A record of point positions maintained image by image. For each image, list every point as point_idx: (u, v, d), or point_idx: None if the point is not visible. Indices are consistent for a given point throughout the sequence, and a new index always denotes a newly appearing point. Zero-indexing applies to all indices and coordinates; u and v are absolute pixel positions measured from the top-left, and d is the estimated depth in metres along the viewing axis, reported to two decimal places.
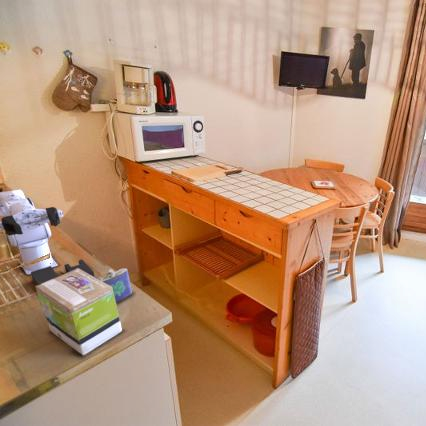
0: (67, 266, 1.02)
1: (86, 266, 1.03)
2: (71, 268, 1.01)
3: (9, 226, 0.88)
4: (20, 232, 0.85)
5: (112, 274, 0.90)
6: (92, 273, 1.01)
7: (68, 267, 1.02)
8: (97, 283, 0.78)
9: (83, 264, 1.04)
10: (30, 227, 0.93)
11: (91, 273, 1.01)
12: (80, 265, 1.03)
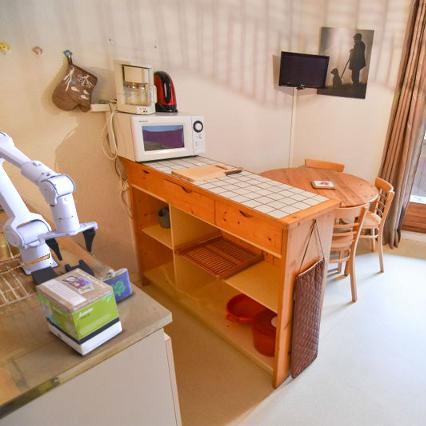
0: (67, 266, 1.02)
1: (86, 266, 1.03)
2: (71, 268, 1.01)
3: None
4: None
5: (112, 274, 0.90)
6: (92, 273, 1.01)
7: (68, 267, 1.02)
8: (97, 283, 0.78)
9: (83, 264, 1.04)
10: None
11: (91, 273, 1.01)
12: (80, 265, 1.03)
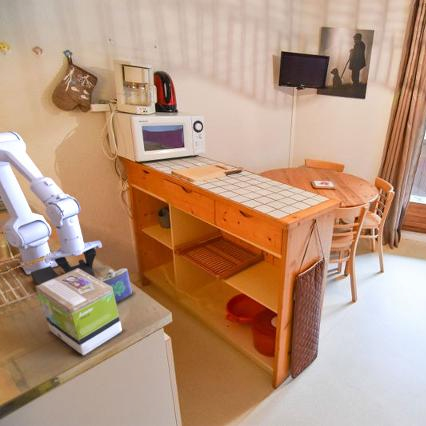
0: None
1: (86, 266, 1.03)
2: (71, 268, 1.01)
3: None
4: None
5: (112, 274, 0.90)
6: (92, 273, 1.01)
7: None
8: (97, 283, 0.78)
9: (83, 264, 1.04)
10: None
11: (91, 273, 1.01)
12: (80, 265, 1.03)
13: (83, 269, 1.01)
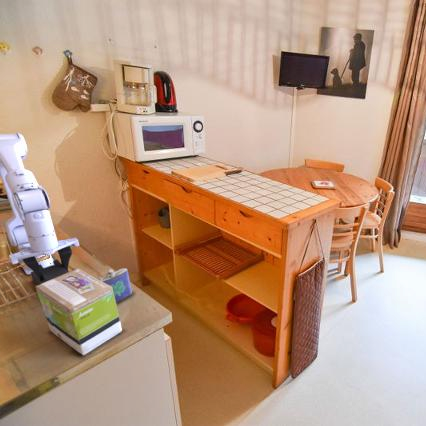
0: (39, 267, 0.90)
1: (61, 267, 0.91)
2: (43, 269, 0.89)
3: None
4: None
5: (112, 274, 0.90)
6: None
7: (40, 268, 0.89)
8: (97, 283, 0.78)
9: (58, 265, 0.91)
10: None
11: None
12: (54, 266, 0.91)
13: (57, 270, 0.89)
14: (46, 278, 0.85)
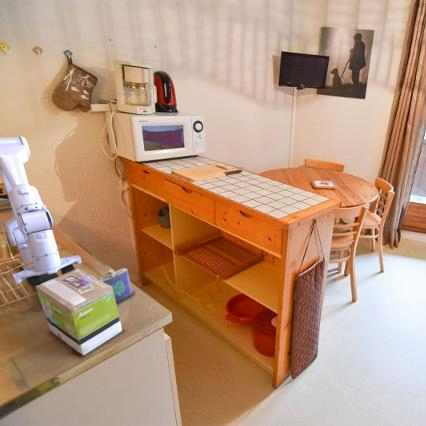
0: None
1: None
2: None
3: None
4: None
5: (112, 274, 0.90)
6: None
7: None
8: (97, 283, 0.78)
9: None
10: None
11: None
12: None
13: None
14: None
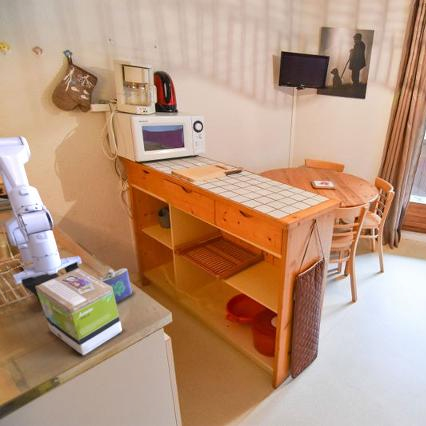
0: None
1: None
2: None
3: None
4: None
5: (112, 274, 0.90)
6: None
7: None
8: (97, 283, 0.78)
9: None
10: None
11: None
12: None
13: None
14: None
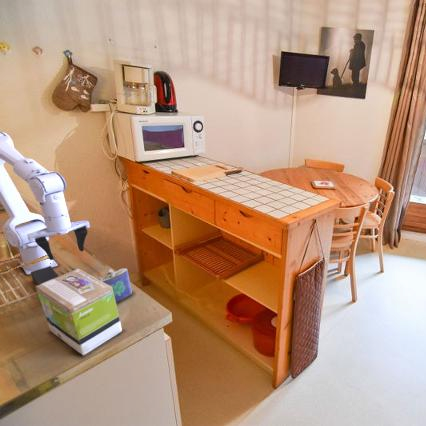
0: None
1: None
2: None
3: None
4: None
5: (112, 274, 0.90)
6: None
7: None
8: (97, 283, 0.78)
9: None
10: None
11: None
12: None
13: None
14: None
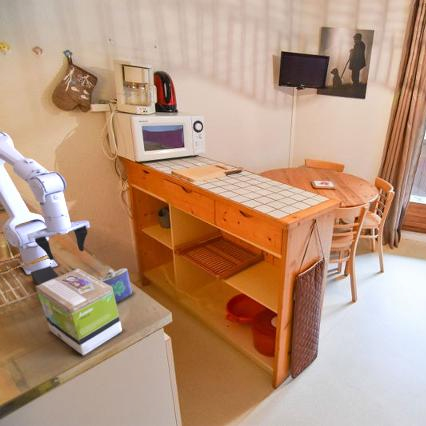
0: None
1: None
2: None
3: None
4: None
5: (112, 274, 0.90)
6: None
7: None
8: (97, 283, 0.78)
9: None
10: None
11: None
12: None
13: None
14: None
